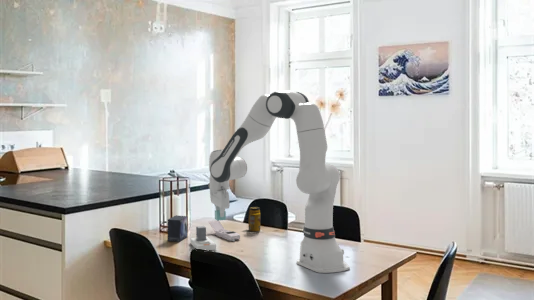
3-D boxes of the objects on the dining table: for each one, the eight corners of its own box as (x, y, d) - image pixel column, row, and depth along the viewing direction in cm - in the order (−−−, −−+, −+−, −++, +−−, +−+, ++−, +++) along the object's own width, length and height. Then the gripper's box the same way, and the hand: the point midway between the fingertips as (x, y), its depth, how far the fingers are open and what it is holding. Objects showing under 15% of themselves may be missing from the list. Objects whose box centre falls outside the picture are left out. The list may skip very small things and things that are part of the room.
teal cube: (225, 219, 237) (225, 211, 237) (217, 220, 236) (216, 211, 235) (223, 218, 241) (223, 209, 240) (215, 219, 239) (214, 210, 239)
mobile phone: (218, 219, 267) (243, 228, 246) (218, 231, 267) (243, 240, 246) (207, 221, 264) (232, 230, 243) (207, 233, 264) (232, 242, 243)
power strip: (216, 250, 229) (216, 243, 229) (198, 251, 227) (198, 245, 226) (207, 241, 244) (207, 236, 244) (190, 243, 242) (190, 237, 241)
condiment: (264, 231, 267) (264, 207, 266) (251, 233, 261) (251, 209, 260) (254, 228, 272) (254, 205, 271) (242, 231, 266) (241, 207, 266)
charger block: (206, 245, 238) (205, 227, 237) (198, 246, 236) (198, 227, 236) (204, 243, 241) (204, 225, 240) (196, 244, 240) (196, 226, 239)
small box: (180, 242, 244) (180, 219, 243) (167, 241, 245) (166, 219, 244) (188, 237, 254) (187, 215, 253) (175, 236, 256) (175, 215, 255)
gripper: (232, 187, 229) (233, 219, 229) (220, 182, 248) (221, 211, 249) (218, 188, 226) (219, 220, 227) (207, 183, 246) (208, 212, 246)
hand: (220, 215), depth 238 cm, fingers closed on teal cube, 4 cm apart
